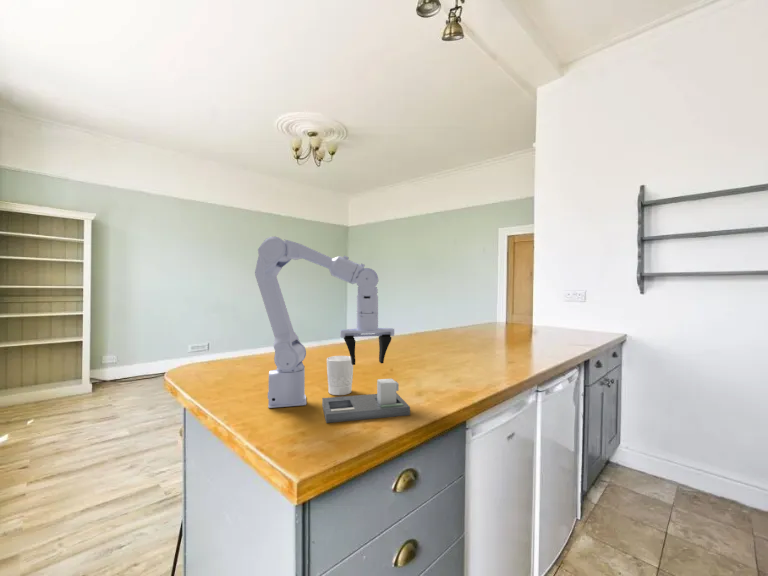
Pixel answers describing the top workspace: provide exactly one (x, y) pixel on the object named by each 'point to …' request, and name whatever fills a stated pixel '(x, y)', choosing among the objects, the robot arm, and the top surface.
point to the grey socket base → (361, 408)
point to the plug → (386, 391)
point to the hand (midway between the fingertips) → (367, 363)
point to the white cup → (339, 375)
